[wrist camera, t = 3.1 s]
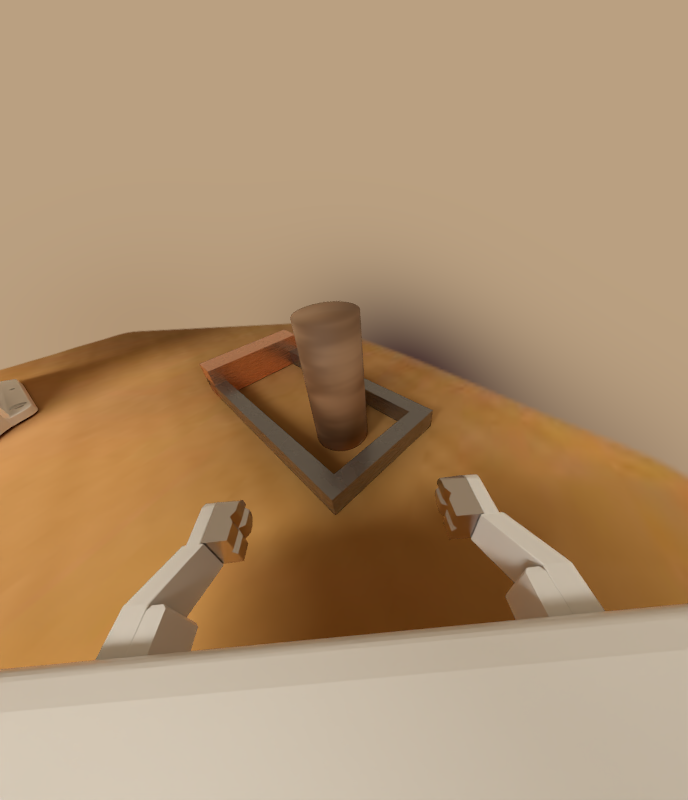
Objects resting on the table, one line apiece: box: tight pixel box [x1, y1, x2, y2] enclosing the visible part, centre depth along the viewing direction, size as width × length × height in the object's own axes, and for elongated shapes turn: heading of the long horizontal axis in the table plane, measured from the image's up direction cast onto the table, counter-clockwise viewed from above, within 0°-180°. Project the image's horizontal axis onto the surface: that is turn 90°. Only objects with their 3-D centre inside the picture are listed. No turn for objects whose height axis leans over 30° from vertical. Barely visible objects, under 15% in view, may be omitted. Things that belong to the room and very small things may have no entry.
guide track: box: [200, 330, 433, 515], centre depth 29 cm, size 25×12×4 cm, turn 43°
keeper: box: [290, 301, 367, 451], centre depth 22 cm, size 5×5×12 cm
